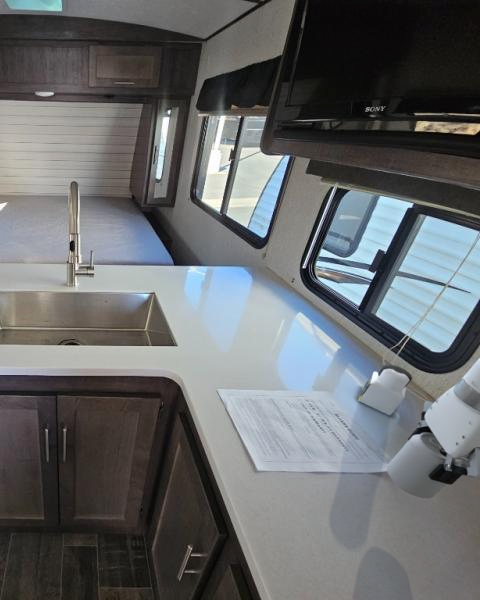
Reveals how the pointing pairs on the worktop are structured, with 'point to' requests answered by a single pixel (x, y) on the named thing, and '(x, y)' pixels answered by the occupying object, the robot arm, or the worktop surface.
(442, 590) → the worktop surface
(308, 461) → the worktop surface
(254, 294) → the worktop surface
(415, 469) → the can
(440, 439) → the robot arm
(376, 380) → the white piece
